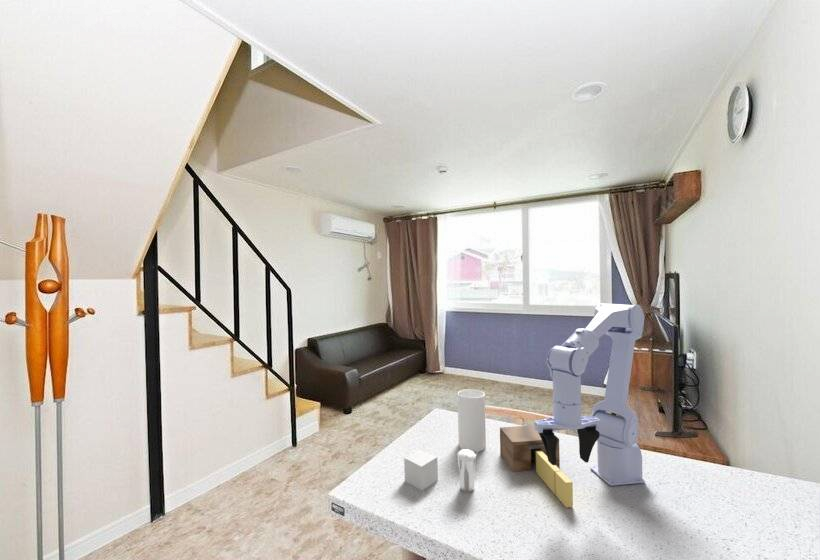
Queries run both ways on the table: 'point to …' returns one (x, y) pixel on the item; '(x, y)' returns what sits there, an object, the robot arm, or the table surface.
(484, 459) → the table surface
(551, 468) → the ticket
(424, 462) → the white cube
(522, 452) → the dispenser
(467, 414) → the cup
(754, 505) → the table surface
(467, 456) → the milkshake
